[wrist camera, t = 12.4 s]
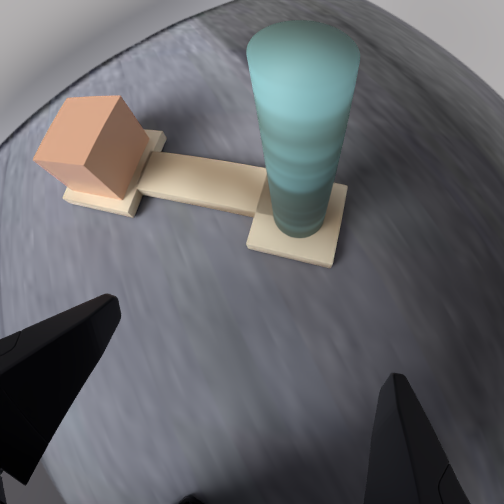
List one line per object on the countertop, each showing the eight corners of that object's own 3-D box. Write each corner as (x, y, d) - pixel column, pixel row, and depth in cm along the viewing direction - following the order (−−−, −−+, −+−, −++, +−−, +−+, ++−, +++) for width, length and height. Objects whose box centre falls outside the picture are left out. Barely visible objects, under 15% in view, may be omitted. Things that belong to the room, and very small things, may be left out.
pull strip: (330, 268, 19) (395, 140, 6) (68, 206, 22) (-51, 119, 10) (349, 169, 20) (392, -1, 8) (102, 133, 24) (14, 27, 11)
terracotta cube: (122, 200, 20) (83, 165, 16) (72, 190, 21) (32, 159, 16) (149, 138, 21) (120, 95, 17) (99, 134, 22) (67, 97, 18)
